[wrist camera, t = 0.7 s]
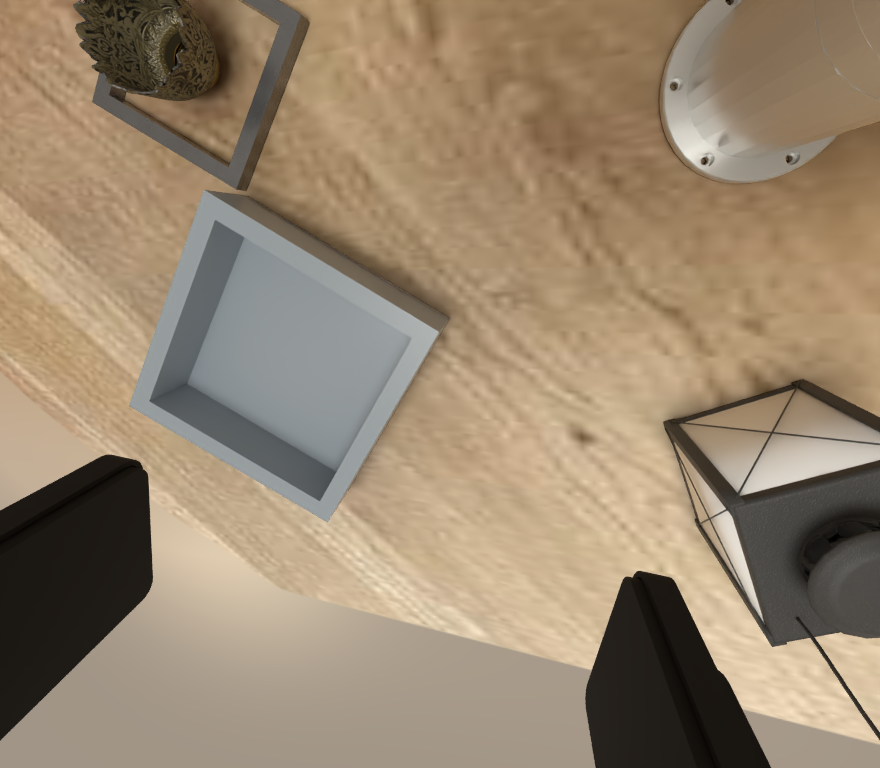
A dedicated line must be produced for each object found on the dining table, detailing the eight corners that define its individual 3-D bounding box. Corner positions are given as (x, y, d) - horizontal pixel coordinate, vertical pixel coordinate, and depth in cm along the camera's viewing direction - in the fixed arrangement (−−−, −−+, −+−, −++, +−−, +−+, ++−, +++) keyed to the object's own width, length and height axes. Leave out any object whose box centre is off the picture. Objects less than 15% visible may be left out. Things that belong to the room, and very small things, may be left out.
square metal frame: (153, -74, 35) (138, -87, 34) (309, 23, 35) (301, 14, 34) (107, 106, 39) (92, 102, 38) (246, 190, 40) (236, 189, 38)
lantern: (695, 527, 43) (986, 995, 17) (660, 420, 41) (938, 773, 14) (831, 493, 40) (1438, 989, 14) (803, 376, 38) (1479, 712, 11)
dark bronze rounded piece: (171, 123, 39) (89, 97, 32) (150, 18, 37) (57, -37, 29) (254, 114, 38) (189, 85, 30) (237, 6, 36) (164, -55, 28)
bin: (247, 196, 40) (204, 190, 34) (449, 318, 41) (439, 332, 35) (175, 385, 47) (129, 406, 41) (349, 487, 47) (327, 522, 42)
